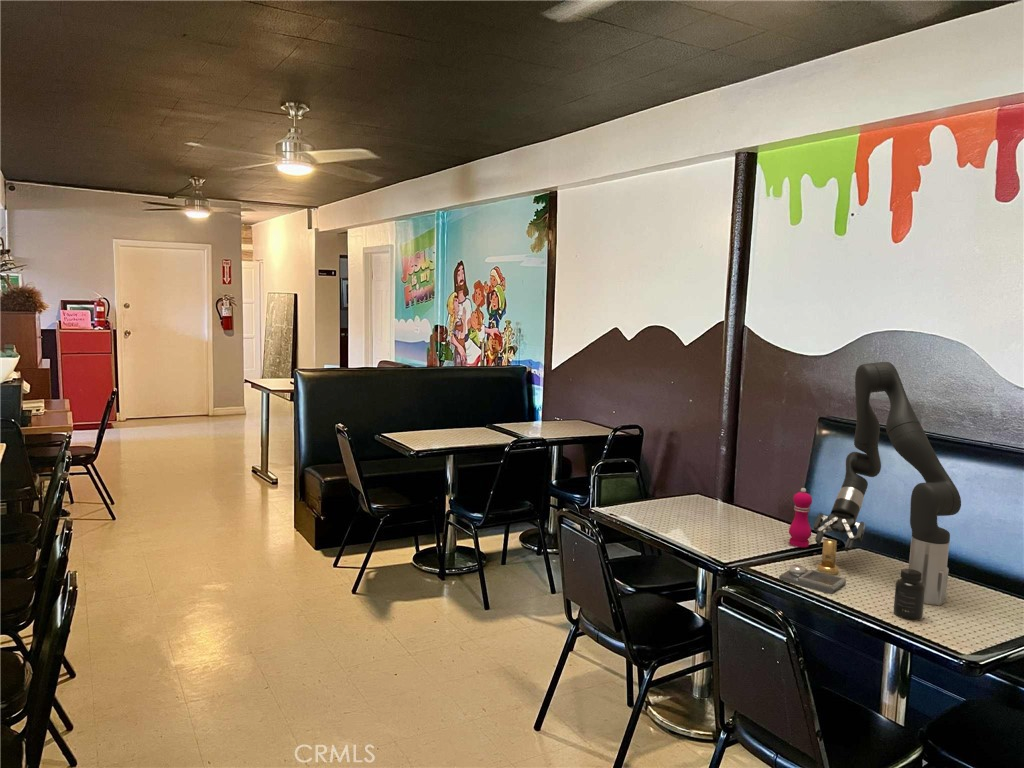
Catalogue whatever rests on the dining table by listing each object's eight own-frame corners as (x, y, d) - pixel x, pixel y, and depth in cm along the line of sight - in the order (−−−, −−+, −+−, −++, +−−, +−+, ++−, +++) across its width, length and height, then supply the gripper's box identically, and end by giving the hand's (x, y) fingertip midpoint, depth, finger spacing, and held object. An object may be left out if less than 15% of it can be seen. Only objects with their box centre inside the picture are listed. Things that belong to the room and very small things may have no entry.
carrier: (846, 584, 212) (847, 573, 212) (832, 594, 203) (833, 583, 203) (795, 570, 222) (795, 560, 222) (779, 579, 214) (779, 569, 213)
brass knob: (841, 572, 222) (843, 540, 221) (834, 577, 218) (836, 544, 217) (821, 567, 226) (823, 536, 225) (814, 571, 222) (816, 540, 221)
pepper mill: (813, 548, 245) (818, 491, 243) (792, 547, 245) (796, 490, 244) (805, 541, 252) (810, 486, 251) (784, 541, 253) (789, 485, 251)
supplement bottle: (896, 608, 195) (900, 565, 194) (924, 615, 191) (928, 571, 190) (890, 615, 190) (894, 571, 189) (919, 623, 186) (923, 578, 185)
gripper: (822, 493, 233) (806, 534, 226) (869, 502, 223) (853, 545, 216) (827, 506, 237) (811, 547, 230) (873, 516, 228) (858, 559, 220)
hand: (831, 546), depth 223 cm, fingers open, 8 cm apart
